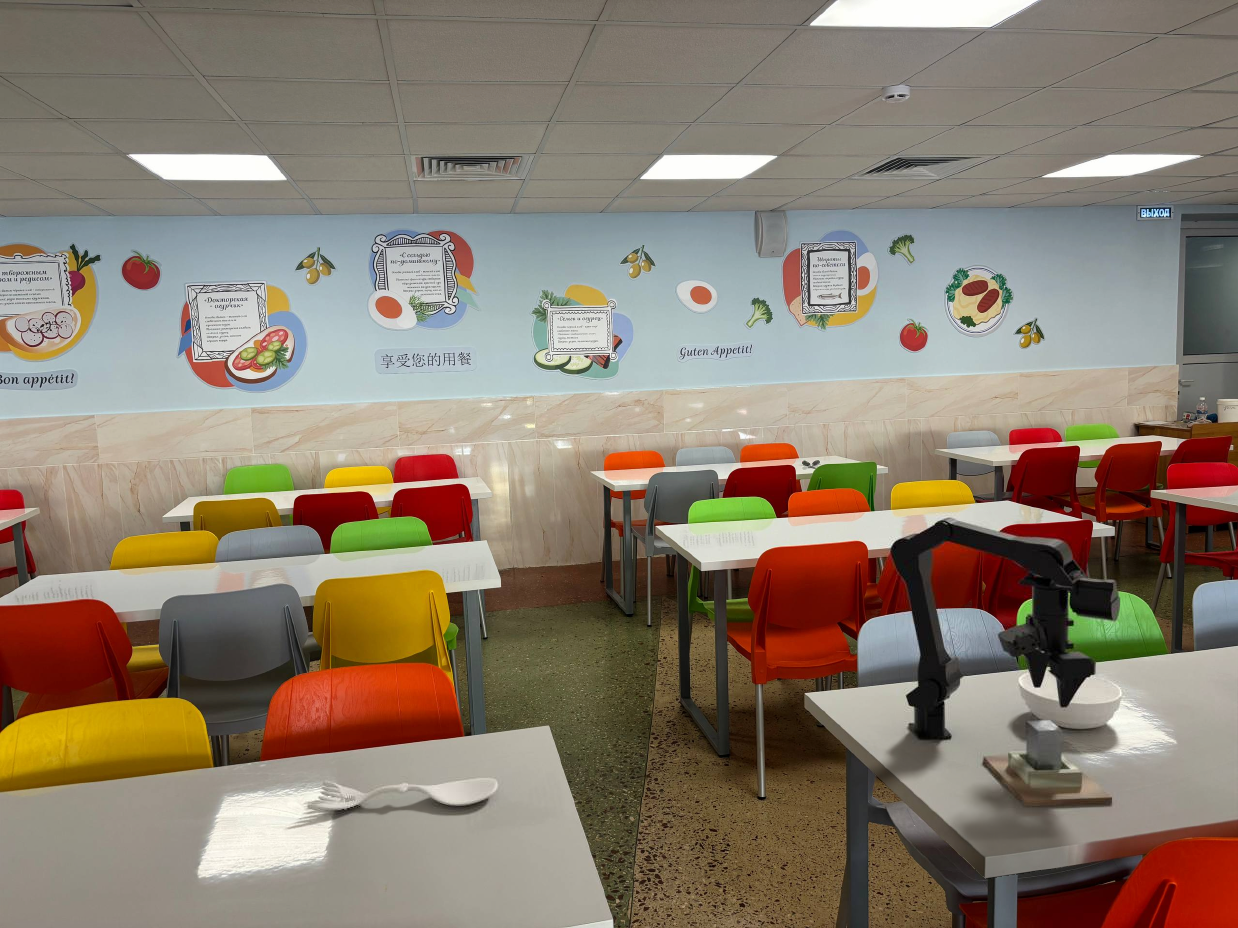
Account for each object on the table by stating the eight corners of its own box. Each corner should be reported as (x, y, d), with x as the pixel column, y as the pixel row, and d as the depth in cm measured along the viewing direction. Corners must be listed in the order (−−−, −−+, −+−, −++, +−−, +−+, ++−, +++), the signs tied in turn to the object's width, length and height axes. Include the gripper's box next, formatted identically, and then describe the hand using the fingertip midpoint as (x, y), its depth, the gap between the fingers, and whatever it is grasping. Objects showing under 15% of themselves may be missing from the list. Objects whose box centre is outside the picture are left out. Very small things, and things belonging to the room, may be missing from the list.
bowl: (1122, 711, 168) (1123, 677, 167) (1120, 747, 153) (1121, 710, 152) (1023, 697, 178) (1023, 664, 177) (1012, 729, 162) (1012, 693, 162)
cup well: (983, 761, 150) (983, 742, 149) (1060, 757, 149) (1060, 739, 149) (1025, 806, 134) (1025, 785, 133) (1112, 802, 133) (1112, 782, 133)
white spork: (324, 796, 149) (322, 778, 149) (500, 785, 150) (499, 767, 150) (307, 822, 140) (305, 803, 140) (495, 811, 141) (494, 791, 141)
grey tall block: (1026, 770, 144) (1026, 720, 143) (1049, 769, 143) (1049, 719, 143) (1037, 781, 140) (1037, 730, 139) (1061, 780, 139) (1061, 729, 139)
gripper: (981, 599, 154) (982, 679, 156) (1030, 629, 135) (1030, 720, 137) (1041, 596, 154) (1041, 677, 155) (1098, 626, 135) (1097, 717, 137)
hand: (1049, 696), depth 146 cm, fingers open, 9 cm apart
